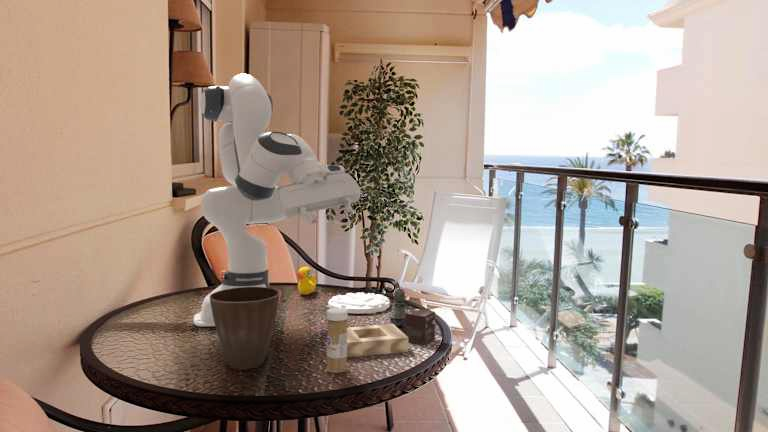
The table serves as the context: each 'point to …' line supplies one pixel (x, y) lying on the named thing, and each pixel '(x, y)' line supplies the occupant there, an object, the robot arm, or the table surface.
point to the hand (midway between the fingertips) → (332, 217)
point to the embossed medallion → (360, 303)
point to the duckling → (306, 281)
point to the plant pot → (245, 323)
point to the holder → (375, 340)
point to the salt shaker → (398, 309)
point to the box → (420, 326)
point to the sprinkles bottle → (337, 340)
